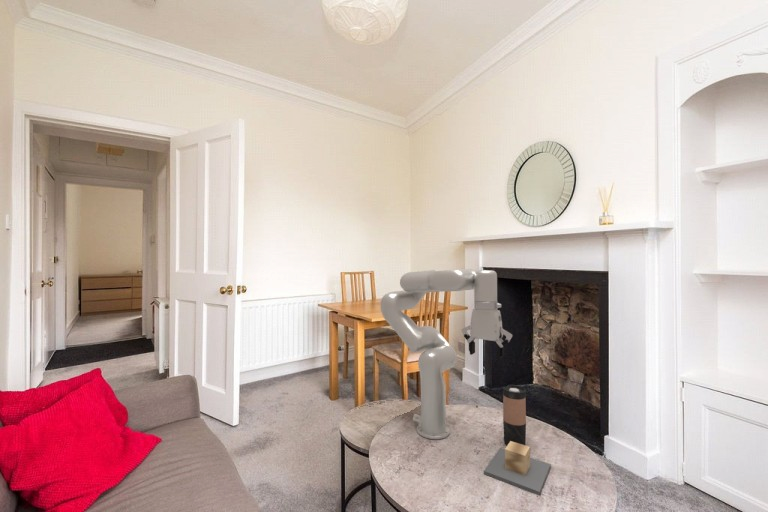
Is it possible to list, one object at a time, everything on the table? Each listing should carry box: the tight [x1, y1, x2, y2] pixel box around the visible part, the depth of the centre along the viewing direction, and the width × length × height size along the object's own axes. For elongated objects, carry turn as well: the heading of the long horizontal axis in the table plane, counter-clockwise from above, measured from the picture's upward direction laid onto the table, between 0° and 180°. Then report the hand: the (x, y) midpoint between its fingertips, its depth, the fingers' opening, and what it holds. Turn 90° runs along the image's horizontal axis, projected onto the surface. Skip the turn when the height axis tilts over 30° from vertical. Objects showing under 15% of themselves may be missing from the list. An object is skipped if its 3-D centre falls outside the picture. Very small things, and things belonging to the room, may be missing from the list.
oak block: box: [504, 441, 531, 476], centre depth 105 cm, size 6×6×6 cm
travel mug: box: [502, 384, 527, 447], centre depth 120 cm, size 8×8×20 cm
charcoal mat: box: [483, 447, 552, 496], centre depth 105 cm, size 16×16×1 cm
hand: (486, 356), depth 114 cm, fingers open, 9 cm apart
